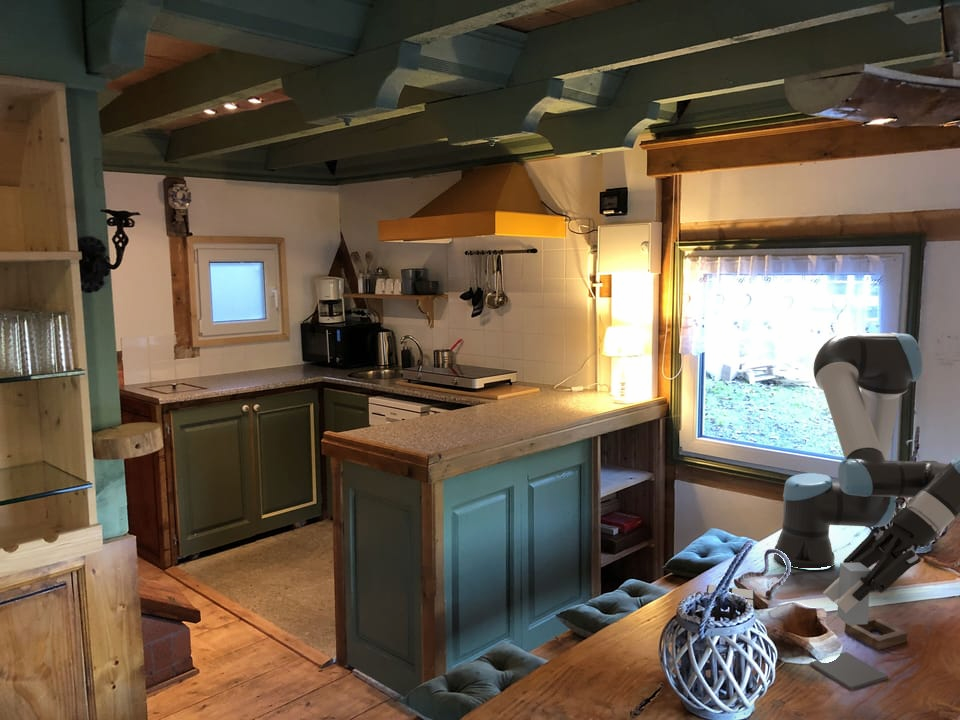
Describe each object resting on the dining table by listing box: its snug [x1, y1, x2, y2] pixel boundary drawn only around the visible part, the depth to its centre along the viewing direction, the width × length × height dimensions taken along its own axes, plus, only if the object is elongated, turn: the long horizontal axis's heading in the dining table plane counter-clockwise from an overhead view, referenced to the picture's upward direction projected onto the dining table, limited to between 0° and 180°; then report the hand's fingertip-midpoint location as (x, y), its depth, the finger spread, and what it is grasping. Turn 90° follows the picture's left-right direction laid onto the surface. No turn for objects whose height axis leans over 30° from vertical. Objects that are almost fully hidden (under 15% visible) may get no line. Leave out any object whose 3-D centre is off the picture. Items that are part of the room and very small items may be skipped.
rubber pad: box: [809, 651, 889, 691], centre depth 156 cm, size 10×10×1 cm
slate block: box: [836, 562, 872, 625], centre depth 153 cm, size 4×4×11 cm
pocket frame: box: [844, 615, 909, 651], centre depth 169 cm, size 9×9×2 cm
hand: (834, 602), depth 153 cm, fingers closed on slate block, 4 cm apart
